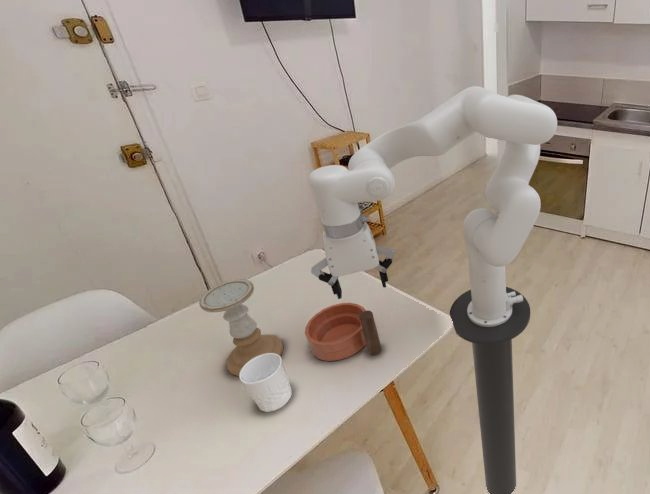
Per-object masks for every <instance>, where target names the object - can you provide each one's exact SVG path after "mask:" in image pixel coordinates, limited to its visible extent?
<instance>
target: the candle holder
mask: <svg viewBox="0 0 650 494" xmlns="http://www.w3.org/2000/svg"><path fill="white" fill-rule="evenodd" d="M254 291H255V286H254V283H253V282H252V281H250V280H249V279H246V278H245V279H242V278H238V279H230V280H227V281H224V282H222V283H218V284H216V285H214V286H213V287H211V288H209V289H208V290H207V291H205V292H204V293H203V294H202V296H201V297H200V299H199V307H200V309H201V310H203V311H204V312H206V313H222V312H224V313H223V315H222V318H223V320H224V321H226V322H228V329H229V330H228V331H229V335H230V337H232V344H233V345H234V346H235V348H234V349H233V350H232V351H230V353H229V355H228V357H227V359H226V362H225V363H226V364H225V366H226V369H227V371H228V372H229V373H230V374H231V375H232V376H237V377H239V374H240V371H241V369H242V368H243V366H244V365H245V364H246V363H247V362H249V361H250V360H251V359H253V358H255V357H257V356H259V355H262V354H266V353H275V354H278V355H279V356H280V357H281V356H282V354H283V352H284V342H283V340H282V339H281V338H280V337H279V336H277V335H276V334H262V330H261V329H260V328H259V327H258V326H257V325H258V324H257V322H256V320H255V319H254V318H253V317H251V316H250V314H249V306H247V305H245V304H243V303H245V302H246V301H248V300H249V299H250V298H251V297H252V296H253V294H254Z"/></svg>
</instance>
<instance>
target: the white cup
mask: <svg viewBox="0 0 650 494" xmlns="http://www.w3.org/2000/svg"><path fill="white" fill-rule="evenodd" d="M238 377H239V380H240V382H241V383H242V385H243V386H244V388H245V390H246V391H247V393H248V394H249V396H250V398H251V399H252V401H253V402H254V403H255V404H256V405H257V407H258V409H259V410H260V411H262V412H265V413H268V412H269V413H270V412H274V411H277V410H279V409H281V408H283V407H284V406H285V405H287V403H288V402H289V400H290V399H291V397H292V392H293V391H292V390H293V388H292V387H291V384H290V380H289V376H288V372H287V370H286V367H285V365H284V362H283V359H282V357H281V356H279V355H278V354H275V353H266V354H262V355H259V356H257V357H255V358H253V359H251V360H250V361H249V362H247V363H246V364H245V365H244V366H243V368H242V369H241V371H240V374H239V376H238Z"/></svg>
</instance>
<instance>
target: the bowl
mask: <svg viewBox="0 0 650 494" xmlns="http://www.w3.org/2000/svg"><path fill="white" fill-rule="evenodd" d="M364 311H367V310H366V309H365V307H364V306H362V305H360V304H358V303H355V302H340V303H336V304H333V305H332V304H331V305H330V306H327V307H325V308H323V309H321V310H320V311H318V312H316V313H315V314H314V315H313V316H312V317H311V318H310V319H309V320H308V322H307V324H306V325H305V329H304V335H305V338H306V341H307V343H308V346H309V349H310V351H311V354H312V355H313V356H314V357H316V358H317V359H318V360H322V361H325V362H331V361H332V362H333V361H340V360H343V359H347V358H349V357H351V356H354V355H355V354H356V353H358V352H359V351H361V350H362V349H363V348H364V347H365V346H367V343H366V339H365V336H364V332H363V328H362V325H361V321H360V318H359V316H360V314H361V313H362V312H364Z"/></svg>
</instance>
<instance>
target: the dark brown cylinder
mask: <svg viewBox="0 0 650 494" xmlns="http://www.w3.org/2000/svg"><path fill="white" fill-rule="evenodd" d="M359 318H360V321H361V325H362V328H363V332H364V336H365V339H366V346H367V351H368V353H369V355H370V356H378V355H379V354H381V352H382V350H383V349H382V344H381V340H380V336H379V333H378V329H377V325H376V320H375V317H374V313H373V312H372V311H371V310H366V311H364V312H362V313H361V314H360V316H359Z"/></svg>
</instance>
